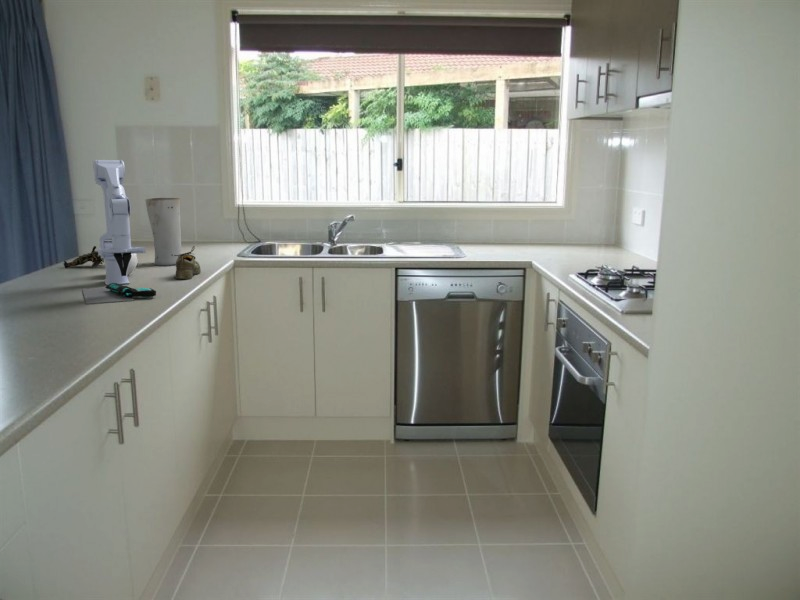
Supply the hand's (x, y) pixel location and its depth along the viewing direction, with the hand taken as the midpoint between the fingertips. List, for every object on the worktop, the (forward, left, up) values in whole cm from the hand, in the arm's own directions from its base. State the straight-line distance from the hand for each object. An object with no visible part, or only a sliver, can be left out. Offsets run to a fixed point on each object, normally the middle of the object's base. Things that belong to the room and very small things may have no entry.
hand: (123, 275), depth 225 cm
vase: (-60, +23, -7) cm, 64 cm away
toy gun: (0, +4, -5) cm, 6 cm away
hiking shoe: (-29, +25, -7) cm, 39 cm away
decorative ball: (-37, +3, -7) cm, 38 cm away
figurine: (-63, -8, -7) cm, 64 cm away
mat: (0, -5, -6) cm, 8 cm away
